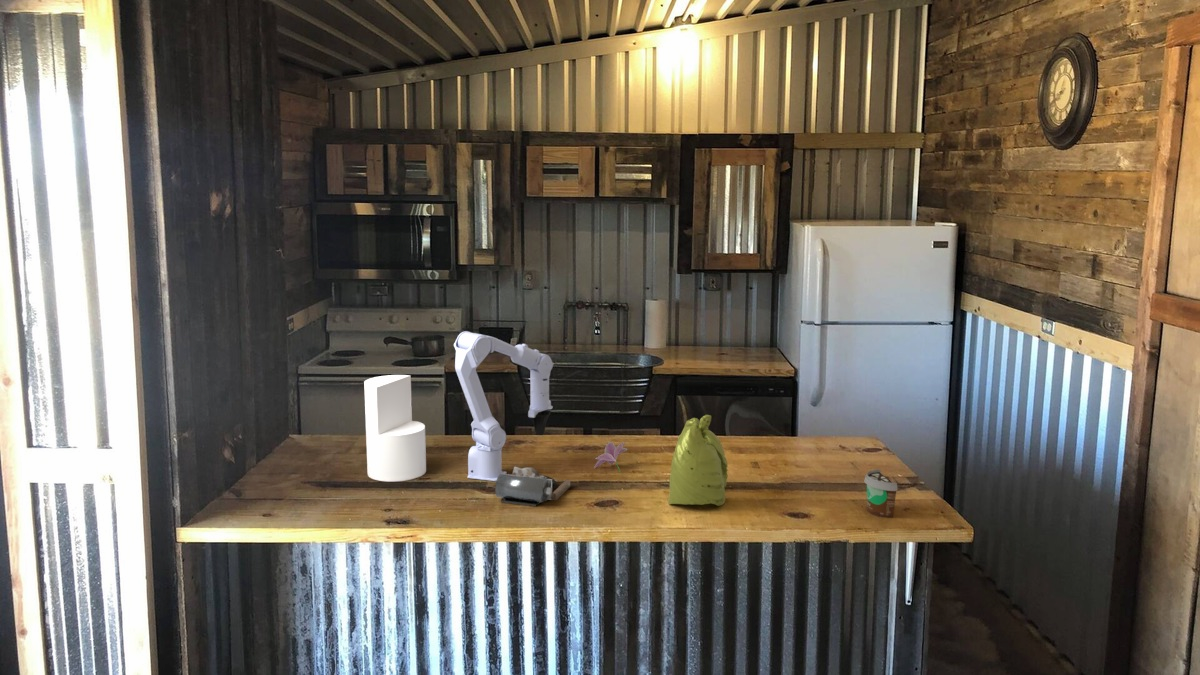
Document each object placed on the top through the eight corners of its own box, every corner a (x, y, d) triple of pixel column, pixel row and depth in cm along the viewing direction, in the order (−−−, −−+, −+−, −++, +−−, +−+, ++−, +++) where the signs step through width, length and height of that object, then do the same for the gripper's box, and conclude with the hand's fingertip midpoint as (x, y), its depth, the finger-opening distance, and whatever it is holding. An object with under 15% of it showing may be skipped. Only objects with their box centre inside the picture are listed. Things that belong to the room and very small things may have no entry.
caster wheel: (556, 495, 262) (543, 502, 253) (521, 483, 266) (507, 489, 256) (562, 473, 262) (549, 479, 252) (527, 461, 265) (513, 466, 256)
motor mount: (488, 501, 250) (487, 477, 248) (514, 480, 267) (513, 457, 266) (547, 509, 245) (547, 484, 244) (570, 486, 262) (570, 463, 261)
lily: (633, 467, 283) (622, 439, 285) (639, 464, 272) (627, 434, 273) (598, 482, 281) (586, 453, 283) (602, 479, 270) (590, 449, 271)
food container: (855, 503, 251) (857, 469, 249) (877, 503, 251) (879, 468, 250) (872, 520, 239) (875, 484, 237) (895, 519, 239) (897, 483, 237)
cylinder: (355, 476, 269) (351, 384, 264) (389, 460, 285) (386, 372, 280) (404, 484, 263) (402, 390, 258) (437, 467, 279) (435, 378, 274)
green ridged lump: (722, 514, 242) (725, 427, 238) (664, 509, 245) (666, 423, 241) (729, 484, 266) (732, 403, 262) (676, 480, 269) (678, 400, 265)
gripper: (543, 398, 271) (543, 442, 273) (559, 387, 285) (559, 429, 287) (521, 396, 273) (521, 439, 275) (538, 385, 287) (538, 427, 289)
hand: (539, 434), depth 281 cm, fingers closed
